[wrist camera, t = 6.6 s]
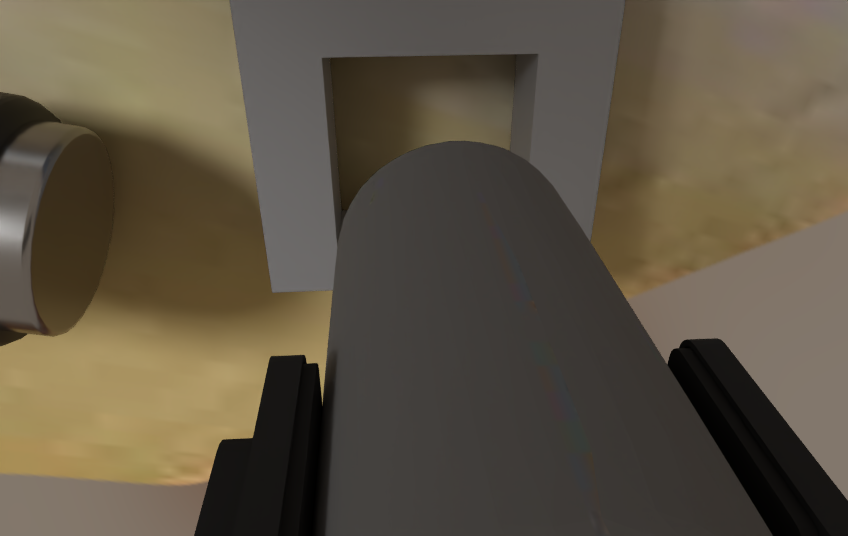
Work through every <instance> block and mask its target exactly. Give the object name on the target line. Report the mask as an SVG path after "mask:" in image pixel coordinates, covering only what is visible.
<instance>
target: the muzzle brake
mask: <svg viewBox="0 0 848 536" xmlns="http://www.w3.org/2000/svg"><path fill="white" fill-rule="evenodd" d="M113 217H114V180H113V173H112V168H111V162H110V159H109V156H108V152H107V149H106V147H105V145H104V143H103V141H102V140H101V139H100V137H99V136H98V135H97V134H96V133H95V132H93V131H91V130H89V129H87V128H85V127H82V126H76V125H70V124H64V123H61V121H60V120H59V119H58V118H56V117H55V116H54V115H53V114H52V113H51V112H50V111H48V110H47V109H46V108H45V107H43V106H42V105H41V104H39V103H37V102H35V101H33V100H31V99H29V98H27V97H25V96H20V95H14V94H9V93H3V92H0V346H3V345H6V344H9V343H11V342H13V341H16V340H18V339H21V338H23V337H24V336H25V335H27V334H36V335H44V336H52V337H54V336H58V335H61V334H63V333H66V332H68V331H69V330H70V329H71V328H73V327H74V326H75V325H76V324H77V322H78V321H79V320H80V319H81V318H82V316H83V315H84V313H85V311H86V310H87V308H88V306H89V305H90V303H91V301H92V298H93V296H94V294H95V292H96V290H97V287H98V285H99V282H100V279H101V276H102V273H103V270H104V266H105V263H106V259H107V255H108V250H109V245H110V241H111V234H112V227H113Z"/></svg>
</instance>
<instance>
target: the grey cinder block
mask: <svg viewBox="0 0 848 536" xmlns="http://www.w3.org/2000/svg"><path fill="white" fill-rule="evenodd" d="M230 7H231V14H232V21H233V27H234V34H235V41H236V48H237V55H238V62H239V69H240V75H241V82H242V89H243V96H244V103H245V110H246V116H247V123H248V130H249V137H250V144H251V151H252V158H253V164H254V171H255V178H256V185H257V192H258V199H259V205H260V212H261V219H262V226H263V233H264V240H265V247H266V253H267V260H268V267H269V274H270V281H271V288H272V293H275V292H301V291H327V290H333V285H334V274H335V264H336V256H337V248H338V240H339V236H340V232H341V228H342V224H343V220H344V217H345V215H346V213H347V211H348V210H342V209H341V196H340V183H339V170H338V156H337V143H336V130H335V117H334V103H333V90H332V77H331V64H330V58H331V57H385V56H440V55H495V54H516V69H515V83H514V98H513V113H512V128H511V143H510V152H512V153H514V154H516V155H518V156H520V157H522V158H523V159H525V160H527V161H528V162H529V163H530V164H532V165H533V166H534V167H535V168H537V169H538V170H539V171H540V172H541V173H542V174H543V175H544V176H545V177H546V178H547V179H548V181H549V182H550V183H551V184H552V185H553V186H554V188H555V189H556V191H557V192H558V194H559V195H560V197H561V198H562V200H563V201H564V203H565V204H566V206H567V207H568V209H569V210H570V212H571V213H572V215H573V216H574V218H575V219H576V221H577V222H578V224H579V225H580V227H581V228H582V230H583V231H584V233H585V235H586V236H587V238H588V239H589V241H590V242H591V235H592V228H593V221H594V214H595V208H596V201H597V194H598V187H599V180H600V173H601V166H602V159H603V152H604V145H605V138H606V132H607V125H608V118H609V111H610V104H611V97H612V90H613V83H614V76H615V69H616V62H617V56H618V49H619V42H620V35H621V28H622V21H623V14H624V7H625V0H230Z"/></svg>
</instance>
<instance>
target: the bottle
mask: <svg viewBox="0 0 848 536" xmlns="http://www.w3.org/2000/svg"><path fill="white" fill-rule="evenodd" d="M312 536H773V535H772V533H771V532H770V530H769V529H768V527H767V525H766V524H765V522H764V520H763V519H762V517H761V516H760V514H759V512H758V511H757V509H756V507H755V506H754V504H753V503H752V501H751V499H750V498H749V496H748V494H747V493H746V491H745V490H744V488H743V486H742V485H741V483H740V481H739V480H738V478H737V477H736V475H735V473H734V472H733V470H732V468H731V467H730V465H729V464H728V462H727V460H726V459H725V457H724V455H723V454H722V452H721V451H720V449H719V447H718V446H717V444H716V442H715V441H714V439H713V438H712V436H711V434H710V433H709V431H708V429H707V428H706V426H705V425H704V423H703V421H702V420H701V418H700V416H699V415H698V413H697V412H696V410H695V408H694V407H693V405H692V403H691V402H690V400H689V399H688V397H687V395H686V394H685V392H684V391H683V389H682V387H681V386H680V384H679V383H678V381H677V380H676V378H675V376H674V375H673V373H672V372H671V370H670V368H669V367H668V365H667V364H666V363H665V360H664V359H663V357H662V356H661V354H660V353H659V351H658V349H657V348H656V346H655V344H654V343H653V342H652V340H651V338H650V337H649V335H648V333H647V332H646V330H645V329H644V327H643V326H642V324H641V322H640V321H639V319H638V317H637V316H636V314H635V313H634V311H633V309H632V308H631V306H630V305H629V303H628V301H627V300H626V298H625V297H624V295H623V294H622V292H621V290H620V289H619V287H618V286H617V284H616V282H615V281H614V279H613V278H612V276H611V274H610V273H609V271H608V270H607V268H606V266H605V265H604V263H603V262H602V260H601V259H600V257H599V255H598V254H597V252H596V251H595V249H594V247H593V246H592V244H591V243H590V241H589V239H588V238H587V236H586V235H585V233H584V231H583V230H582V228H581V227H580V225H579V224H578V222H577V221H576V219H575V218H574V216H573V215H572V213H571V212H570V210H569V209H568V207H567V206H566V204H565V203H564V201H563V200H562V198H561V197H560V195H559V194H558V192H557V191H556V189H555V188H554V186H553V185H552V184H551V183H550V182H549V181H548V179H547V178H546V177H545V176H544V175H543V174H542V173H541V172H540V171H539V170H538V169H537V168H535V167H534V166H533V165H532V164H530V163H529V162H528V161H527V160H525V159H523V158H522V157H520V156H518V155H516V154H514V153H512V152H510V151H508V150H506V149H503V148H501V147H498V146H494V145H489V144H484V143H480V142H470V141H448V142H442V143H437V144H431V145H426V146H423V147H421V148H418V149H415V150H412V151H410V152H407V153H405V154H403V155H401V156H399V157H398V158H396V159H394V160H392V161H391V162H389V163H388V164H386V165H385V166H383V167H382V168H380V169H379V170H378V171H377V172H376V173H375V174H374V175H373V176H372V177H371V178H370V179H369V180H368V181H367V182H366V183H365V184H364V185H363V186H362V187H361V188H360V190H359V191H358V193H357V195H356V196H355V198H354V199H353V201H352V203H351V204H350V207H349V209H348V211H347V213H346V215H345V217H344V220H343V224H342V228H341V232H340V236H339V240H338V248H337V256H336V264H335V274H334V285H333V296H332V307H331V318H330V328H329V339H328V350H327V361H326V371H325V382H324V393H323V406H322V418H321V430H320V443H319V455H318V467H317V479H316V492H315V504H314V516H313V529H312Z"/></svg>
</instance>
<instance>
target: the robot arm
mask: <svg viewBox="0 0 848 536" xmlns="http://www.w3.org/2000/svg"><path fill="white" fill-rule="evenodd" d="M667 365H668V367H669V368H670V370H671V372H672V373H673V375H674V376H675V378H676V380H677V381H678V383H679V384H680V386H681V387H682V389H683V391H684V392H685V394H686V395H687V397H688V399H689V400H690V402H691V403H692V405H693V407H694V408H695V410H696V412H697V413H698V415H699V416H700V418H701V420H702V421H703V423H704V425H705V426H706V428H707V429H708V431H709V433H710V434H711V436H712V438H713V439H714V441H715V442H716V444H717V446H718V447H719V449H720V451H721V452H722V454H723V455H724V457H725V459H726V460H727V462H728V464H729V465H730V467H731V468H732V470H733V472H734V473H735V475H736V477H737V478H738V480H739V481H740V483H741V485H742V486H743V488H744V490H745V491H746V493H747V494H748V496H749V498H750V499H751V501H752V503H753V504H754V506H755V507H756V509H757V511H758V512H759V514H760V516H761V517H762V519H763V520H764V522H765V524H766V525H767V527H768V529H769V530H770V532H771V533H772V535H773V536H848V500H847V499H846V498H845V497H844V495H843V494H842V493H841V491H840V490H839V489H838V488H837V486H836V485H835V484H834V483H833V481H832V480H831V479H830V477H829V476H828V475H827V474H826V472H825V471H824V470H823V468H822V467H821V466H820V465H819V463H818V462H817V461H816V460H815V458H814V457H813V456H812V454H811V453H810V452H809V451H808V449H807V448H806V447H805V445H804V444H803V443H802V442H801V440H800V439H799V438H798V437H797V435H796V434H795V433H794V431H793V430H792V429H791V428H790V426H789V425H788V424H787V422H786V421H785V420H784V419H783V417H782V416H781V415H780V413H779V412H778V411H777V410H776V408H775V407H774V406H773V404H772V403H771V402H770V401H769V399H768V398H767V397H766V396H765V394H764V393H763V392H762V390H761V389H760V388H759V386H758V385H757V384H756V383H755V381H754V380H753V379H752V378H751V376H750V375H749V374H748V372H747V371H746V370H745V369H744V367H743V366H742V365H741V364H740V362H739V361H738V360H737V358H736V357H735V356H734V354H733V353H732V352H731V351H730V349H729V348H728V347H727V346H726V344H725V343H724V342H723V341H722V340H720V339H693V340H692V339H691V340H684V341H683V342H682V343H681V345H680V347H679V348H677V349H673V350H672V351H671V354H670V357H669V361H668V364H667ZM321 418H322V397H321V387H320V377H319V367H318V364H317V363H311V364H307V363H306V358H305V355H292V356H271V358H270V360H269V364H268V369H267V374H266V378H265V383H264V388H263V393H262V397H261V402H260V407H259V412H258V416H257V421H256V426H255V431H254V435H253V438H247V439H227V440H222V441H221V443H220V444H219V447H218V450H217V453H216V456H215V460H214V464H213V468H212V471H211V475H210V479H209V482H208V486H207V490H206V494H205V498H204V501H203V505H202V508H201V512H200V516H199V520H198V523H197V527H196V531H195V534H194V536H312V529H313V516H314V504H315V492H316V479H317V467H318V455H319V443H320V430H321Z"/></svg>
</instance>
